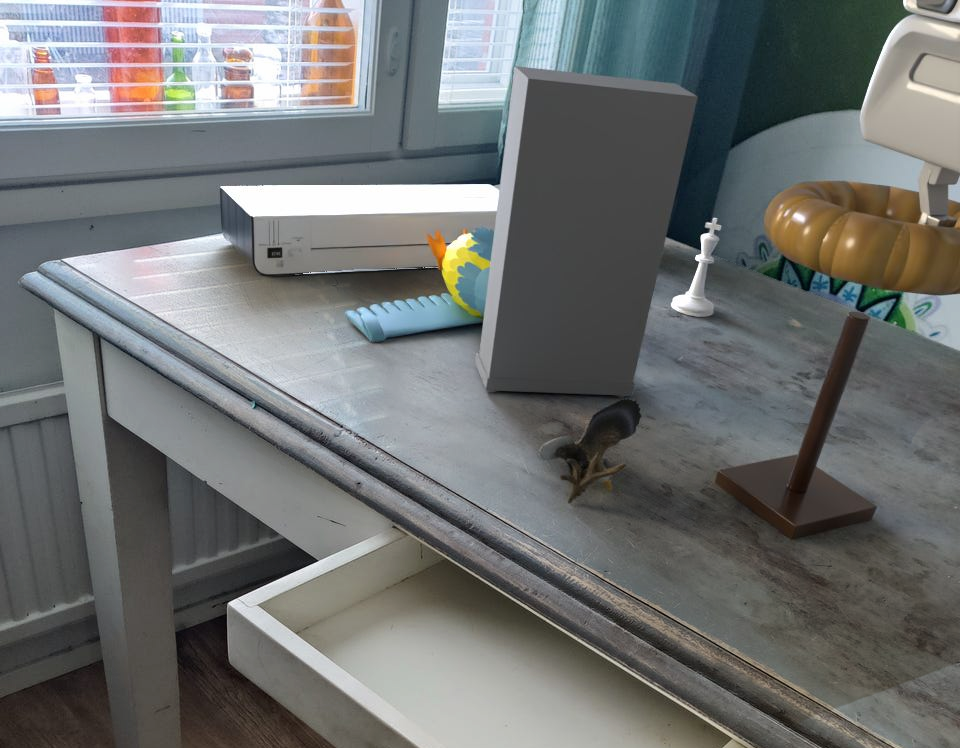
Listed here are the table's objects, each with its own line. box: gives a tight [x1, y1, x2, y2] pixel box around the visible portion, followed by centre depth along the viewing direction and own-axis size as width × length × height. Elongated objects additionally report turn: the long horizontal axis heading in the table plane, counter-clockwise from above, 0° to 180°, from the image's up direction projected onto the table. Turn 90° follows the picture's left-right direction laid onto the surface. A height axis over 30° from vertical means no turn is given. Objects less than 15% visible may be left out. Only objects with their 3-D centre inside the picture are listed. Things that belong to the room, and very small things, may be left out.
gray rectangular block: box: [474, 65, 699, 398], centre depth 85 cm, size 14×6×25 cm, turn 100°
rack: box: [714, 311, 878, 540], centre depth 75 cm, size 9×9×15 cm
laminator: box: [219, 183, 500, 278], centre depth 113 cm, size 34×12×6 cm, turn 118°
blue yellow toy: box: [344, 227, 494, 343], centre depth 100 cm, size 28×9×15 cm
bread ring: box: [763, 180, 960, 297], centre depth 67 cm, size 16×16×4 cm
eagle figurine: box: [538, 397, 643, 504], centre depth 76 cm, size 8×7×9 cm
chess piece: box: [670, 217, 722, 318], centre depth 110 cm, size 5×5×10 cm
